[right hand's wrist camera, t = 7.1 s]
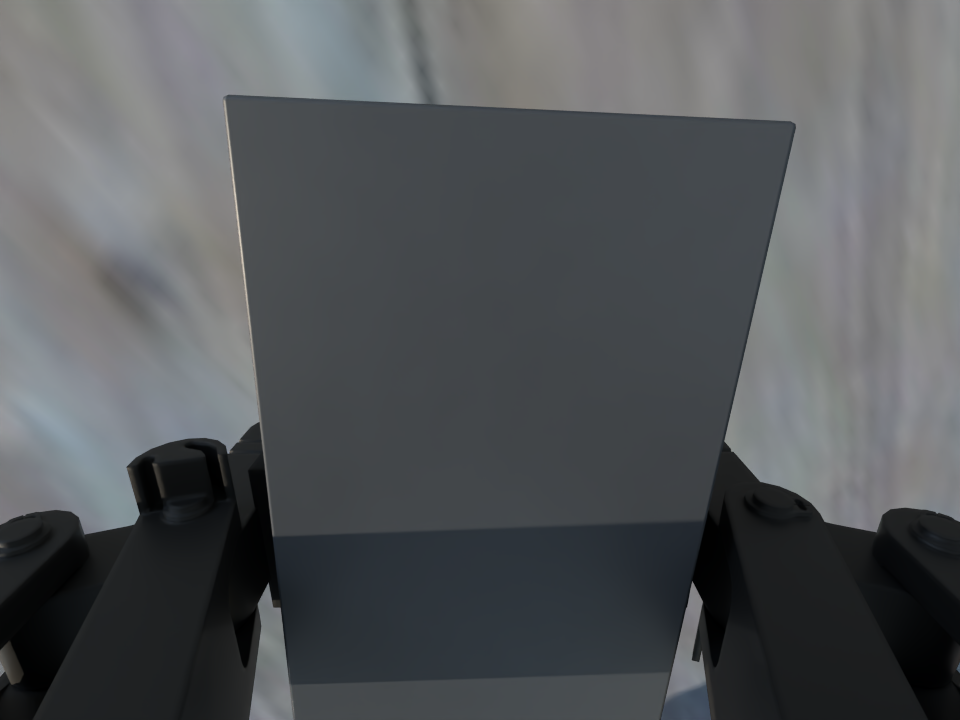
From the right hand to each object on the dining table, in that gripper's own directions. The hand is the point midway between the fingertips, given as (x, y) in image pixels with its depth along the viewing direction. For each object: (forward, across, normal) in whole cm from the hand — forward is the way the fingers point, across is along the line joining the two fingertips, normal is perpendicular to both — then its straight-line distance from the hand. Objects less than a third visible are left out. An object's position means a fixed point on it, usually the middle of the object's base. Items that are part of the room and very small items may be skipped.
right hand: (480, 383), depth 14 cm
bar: (0, -1, -32) cm, 32 cm away
